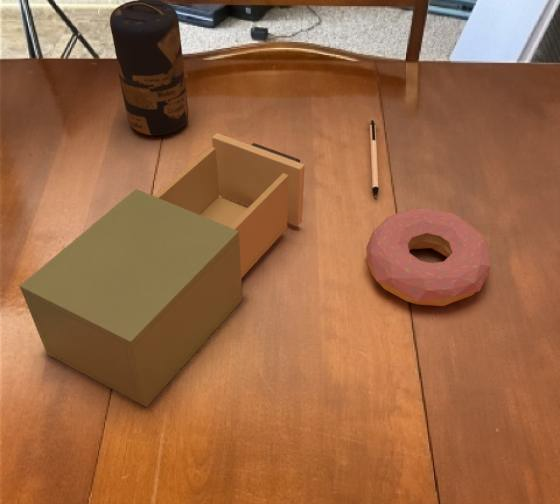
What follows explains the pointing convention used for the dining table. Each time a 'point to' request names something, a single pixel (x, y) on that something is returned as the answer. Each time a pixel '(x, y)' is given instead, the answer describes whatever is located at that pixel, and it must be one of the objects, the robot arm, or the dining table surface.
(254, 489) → the dining table surface
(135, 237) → the cabinet
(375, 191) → the pen
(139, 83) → the canister
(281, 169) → the drawer
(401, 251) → the donut
